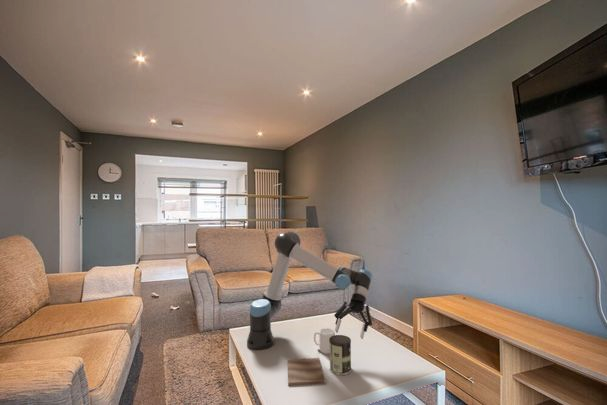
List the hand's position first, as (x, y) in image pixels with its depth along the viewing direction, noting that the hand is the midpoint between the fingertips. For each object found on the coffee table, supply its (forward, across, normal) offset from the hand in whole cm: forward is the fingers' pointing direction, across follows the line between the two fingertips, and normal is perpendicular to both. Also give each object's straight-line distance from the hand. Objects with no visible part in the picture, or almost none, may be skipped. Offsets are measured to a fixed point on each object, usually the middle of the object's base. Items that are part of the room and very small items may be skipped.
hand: (348, 334), depth 146 cm
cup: (+6, +17, -13) cm, 22 cm away
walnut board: (+23, +14, +4) cm, 27 cm away
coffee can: (+16, +1, -4) cm, 16 cm away
